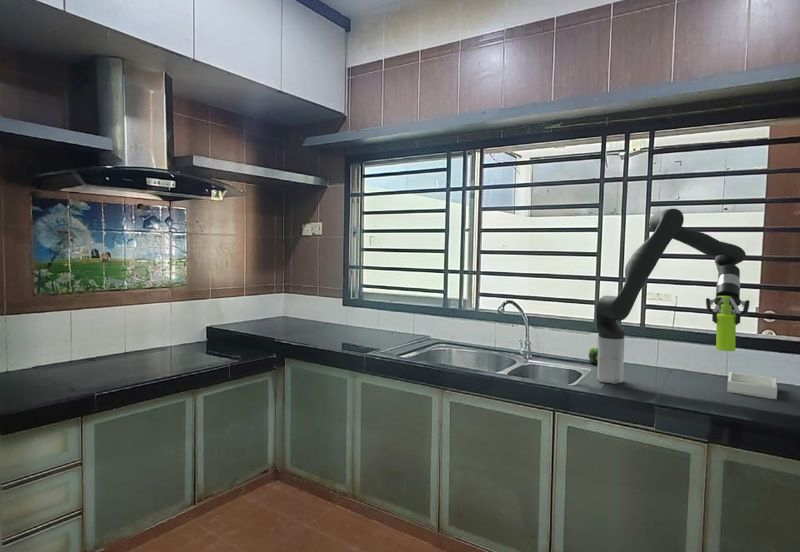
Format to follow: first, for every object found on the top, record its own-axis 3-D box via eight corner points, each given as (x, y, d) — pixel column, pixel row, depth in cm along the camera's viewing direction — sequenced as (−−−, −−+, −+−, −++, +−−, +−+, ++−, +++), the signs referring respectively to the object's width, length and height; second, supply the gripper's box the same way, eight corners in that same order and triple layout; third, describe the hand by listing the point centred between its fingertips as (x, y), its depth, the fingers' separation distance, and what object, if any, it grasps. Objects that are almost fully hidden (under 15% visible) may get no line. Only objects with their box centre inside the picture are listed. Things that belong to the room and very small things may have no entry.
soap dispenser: (725, 346, 180) (726, 294, 179) (739, 350, 173) (740, 296, 172) (710, 347, 180) (711, 295, 179) (723, 351, 173) (724, 297, 172)
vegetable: (594, 346, 209) (592, 339, 227) (586, 360, 210) (584, 352, 229) (610, 355, 206) (606, 347, 225) (601, 369, 208) (599, 359, 227)
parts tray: (776, 399, 162) (777, 388, 162) (727, 392, 170) (727, 381, 170) (774, 388, 175) (775, 378, 175) (728, 382, 183) (729, 372, 183)
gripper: (705, 281, 185) (702, 315, 176) (751, 282, 176) (750, 318, 168) (706, 293, 190) (703, 327, 181) (750, 295, 181) (749, 330, 172)
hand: (726, 322), depth 174 cm, fingers closed on soap dispenser, 6 cm apart
